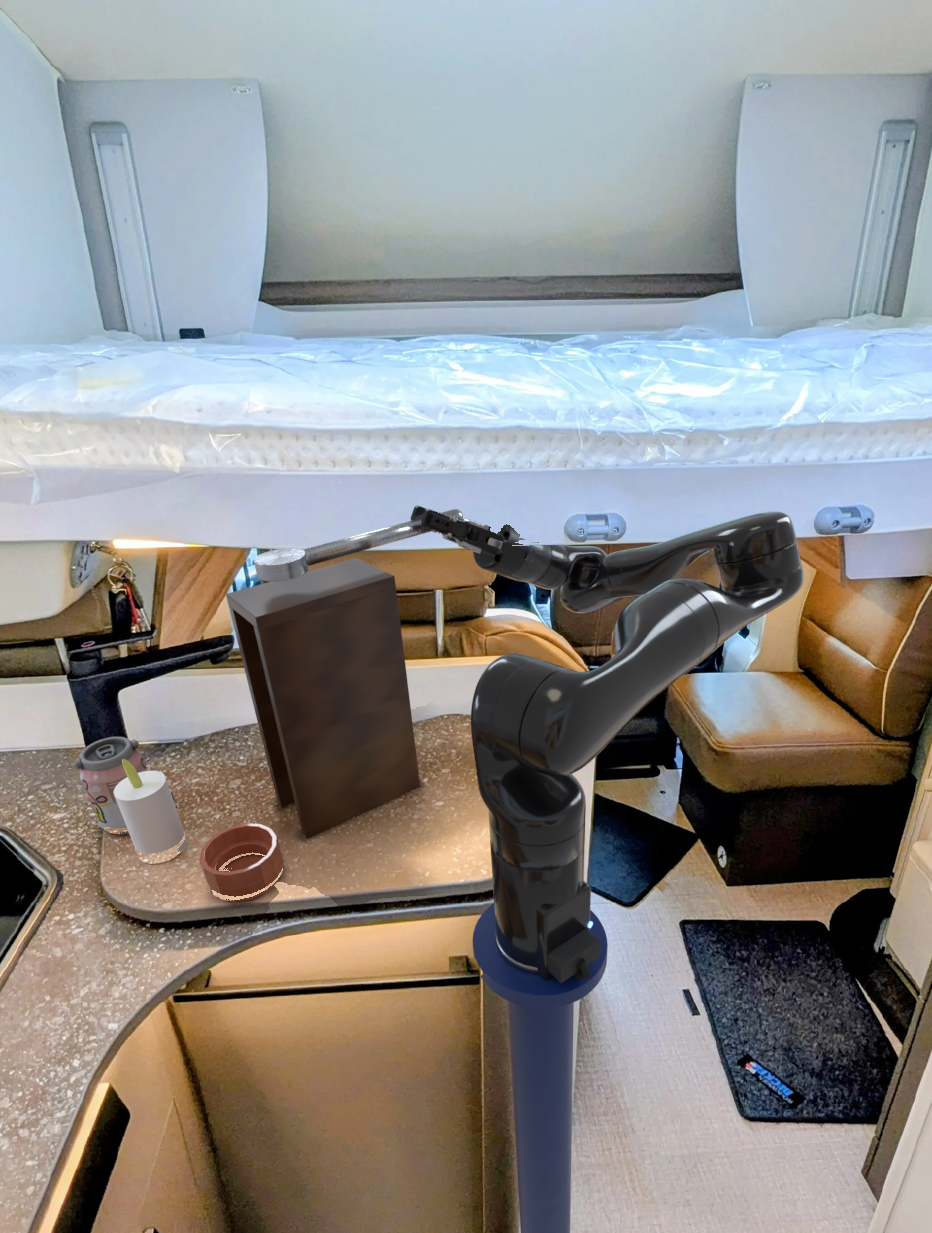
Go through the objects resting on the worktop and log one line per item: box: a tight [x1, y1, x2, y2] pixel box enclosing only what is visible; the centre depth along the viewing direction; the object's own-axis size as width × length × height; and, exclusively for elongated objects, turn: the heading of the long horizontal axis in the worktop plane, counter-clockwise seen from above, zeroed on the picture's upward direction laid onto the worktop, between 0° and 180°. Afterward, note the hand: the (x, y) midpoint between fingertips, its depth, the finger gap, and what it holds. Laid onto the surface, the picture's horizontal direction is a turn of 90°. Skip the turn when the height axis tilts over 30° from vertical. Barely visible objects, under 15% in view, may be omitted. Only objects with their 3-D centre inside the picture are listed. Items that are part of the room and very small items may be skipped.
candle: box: [114, 759, 188, 854], centre depth 91 cm, size 6×6×15 cm
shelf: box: [225, 557, 421, 840], centre depth 94 cm, size 18×10×32 cm, turn 124°
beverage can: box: [72, 736, 149, 835], centre depth 98 cm, size 9×8×12 cm
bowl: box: [198, 822, 285, 903], centre depth 87 cm, size 9×9×5 cm
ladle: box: [253, 508, 464, 582], centre depth 88 cm, size 29×6×2 cm, turn 124°
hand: (419, 515), depth 91 cm, fingers closed on ladle, 2 cm apart
